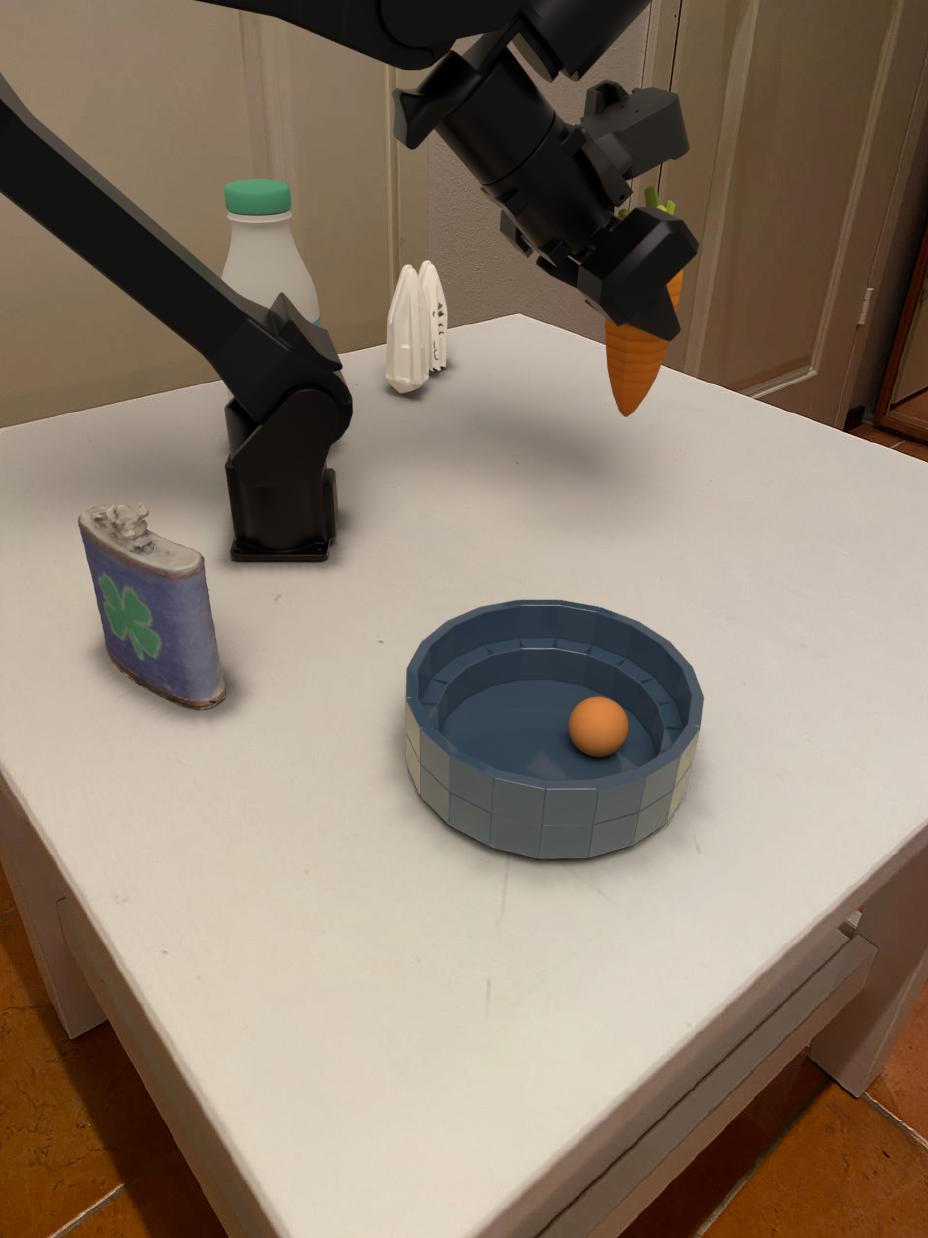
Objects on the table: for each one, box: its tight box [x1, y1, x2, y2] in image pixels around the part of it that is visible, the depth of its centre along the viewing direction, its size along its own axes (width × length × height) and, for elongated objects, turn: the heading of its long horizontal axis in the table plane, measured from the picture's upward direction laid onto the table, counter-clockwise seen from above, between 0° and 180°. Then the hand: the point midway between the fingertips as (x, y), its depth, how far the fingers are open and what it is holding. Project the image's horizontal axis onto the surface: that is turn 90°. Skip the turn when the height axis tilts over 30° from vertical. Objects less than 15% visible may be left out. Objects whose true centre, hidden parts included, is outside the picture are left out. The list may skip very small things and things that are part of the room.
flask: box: [77, 502, 227, 711], centre depth 50 cm, size 9×3×11 cm, turn 51°
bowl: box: [404, 599, 705, 859], centre depth 46 cm, size 14×14×5 cm
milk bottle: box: [220, 178, 322, 402], centre depth 71 cm, size 8×8×20 cm
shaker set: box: [384, 259, 449, 394], centre depth 87 cm, size 12×4×11 cm, turn 167°
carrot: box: [604, 186, 684, 418], centre depth 63 cm, size 5×5×15 cm
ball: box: [568, 697, 629, 757], centre depth 47 cm, size 3×3×3 cm
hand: (657, 323), depth 64 cm, fingers closed on carrot, 5 cm apart
